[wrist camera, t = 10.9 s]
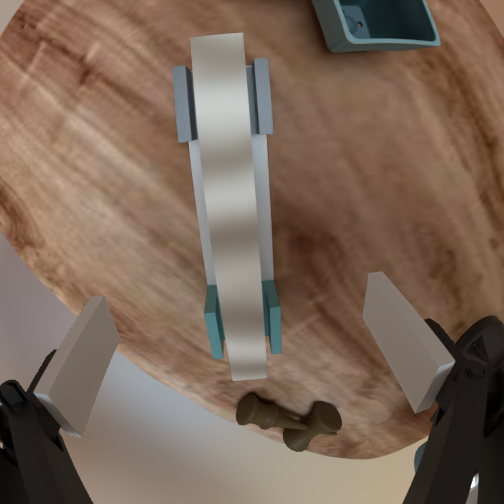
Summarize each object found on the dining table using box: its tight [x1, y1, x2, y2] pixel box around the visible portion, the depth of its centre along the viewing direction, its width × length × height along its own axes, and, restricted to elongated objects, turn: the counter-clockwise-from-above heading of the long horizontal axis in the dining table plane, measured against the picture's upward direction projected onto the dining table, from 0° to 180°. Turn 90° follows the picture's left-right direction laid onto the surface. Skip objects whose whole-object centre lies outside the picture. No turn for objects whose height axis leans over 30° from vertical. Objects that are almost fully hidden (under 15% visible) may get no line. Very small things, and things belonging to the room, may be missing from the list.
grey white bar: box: [191, 33, 267, 381], centre depth 24 cm, size 30×4×5 cm, turn 4°
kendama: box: [236, 394, 342, 452], centre depth 41 cm, size 6×10×20 cm
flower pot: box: [311, 0, 441, 53], centre depth 17 cm, size 9×9×9 cm
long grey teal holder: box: [172, 58, 281, 359], centre depth 26 cm, size 28×7×6 cm, turn 4°
